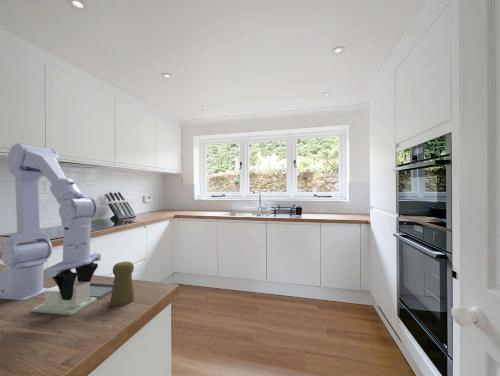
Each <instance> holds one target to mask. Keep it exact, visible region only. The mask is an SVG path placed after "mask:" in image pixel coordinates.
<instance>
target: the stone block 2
mask: <svg viewBox="0 0 500 376" xmlns="http://www.w3.org/2000/svg"><path fill="white" fill-rule="evenodd" d="M90 282H91V281H90ZM90 282H80V281H78V280H75V282H74V286H73V295H72V299H71V300H62V298H61V305H66V306H78V305H79V304H81V303H83V302H85V301H87V300H89V298H90Z"/></svg>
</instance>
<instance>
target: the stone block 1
mask: <svg viewBox="0 0 500 376" xmlns="http://www.w3.org/2000/svg"><path fill="white" fill-rule="evenodd" d="M48 288H49V289H47V290H44V292H43V294H44V295H43V296H44V297H43V304H44V308H47V309H60V308H62V307H64V306H66V305H61V298H62V297H61V293H60V290H59V288H58V285H57V284H56V285H55V286H52V287H48Z"/></svg>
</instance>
